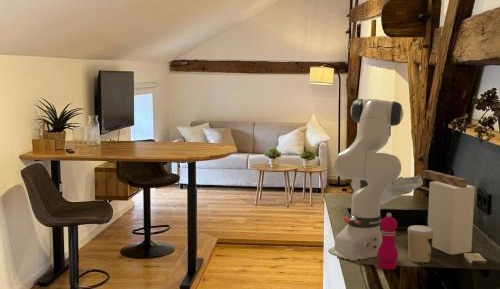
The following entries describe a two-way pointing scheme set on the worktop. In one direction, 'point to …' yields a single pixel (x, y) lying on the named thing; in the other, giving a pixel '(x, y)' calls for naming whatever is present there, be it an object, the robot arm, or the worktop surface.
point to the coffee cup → (420, 243)
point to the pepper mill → (387, 243)
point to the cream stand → (451, 217)
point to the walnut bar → (445, 178)
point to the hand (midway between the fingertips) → (410, 177)
